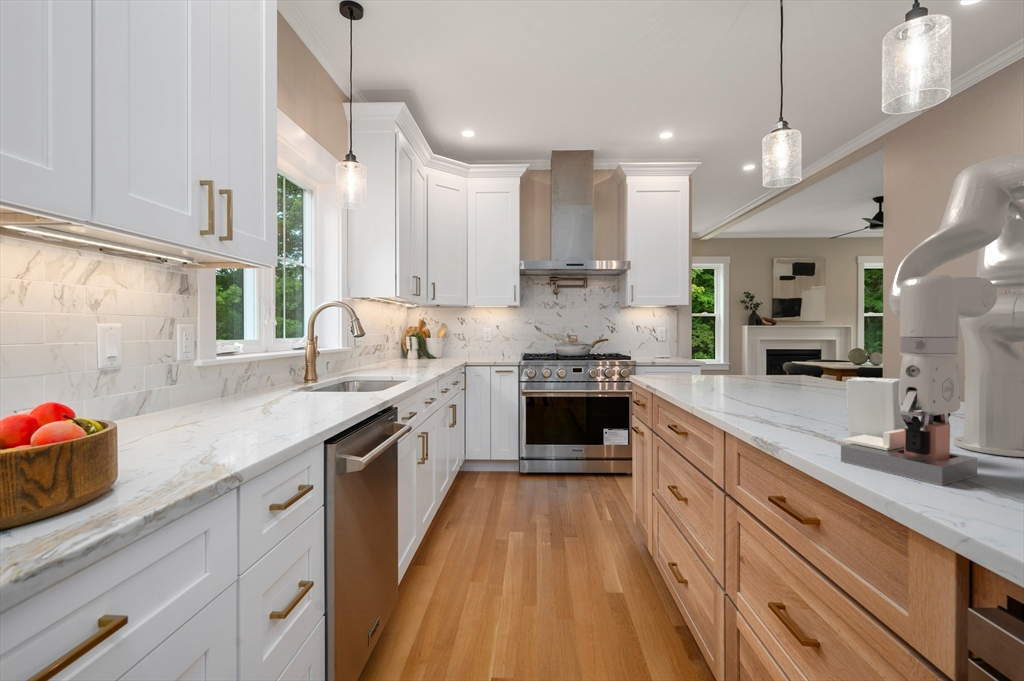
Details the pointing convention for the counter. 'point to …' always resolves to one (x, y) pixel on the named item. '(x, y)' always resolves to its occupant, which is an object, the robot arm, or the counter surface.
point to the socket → (911, 464)
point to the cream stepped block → (880, 440)
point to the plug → (935, 441)
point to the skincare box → (873, 406)
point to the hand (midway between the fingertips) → (926, 449)
